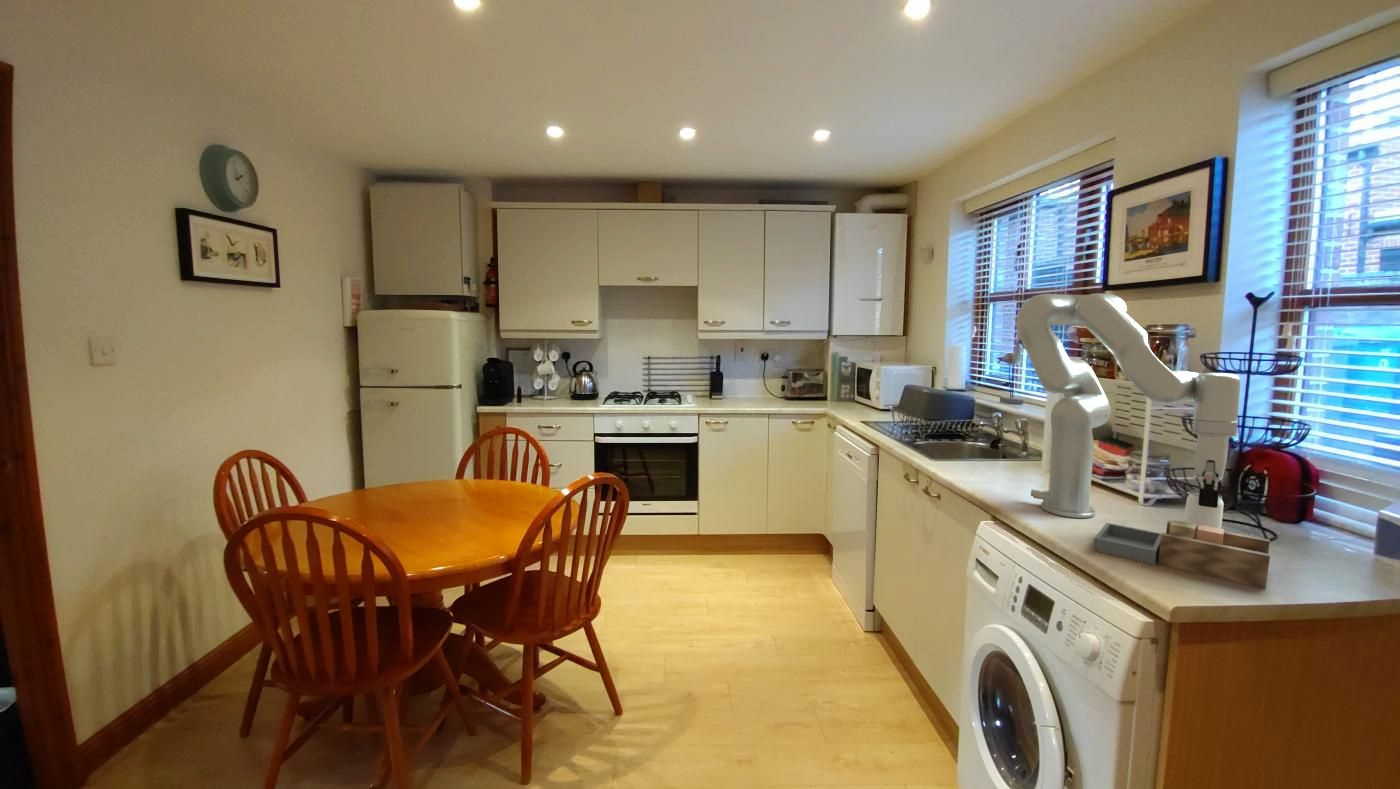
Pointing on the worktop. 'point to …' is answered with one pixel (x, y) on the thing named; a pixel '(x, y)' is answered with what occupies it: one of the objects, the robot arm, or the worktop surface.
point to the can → (1203, 512)
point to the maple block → (1182, 529)
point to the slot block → (1218, 556)
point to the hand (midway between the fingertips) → (1209, 501)
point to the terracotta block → (1210, 534)
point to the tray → (1128, 542)
